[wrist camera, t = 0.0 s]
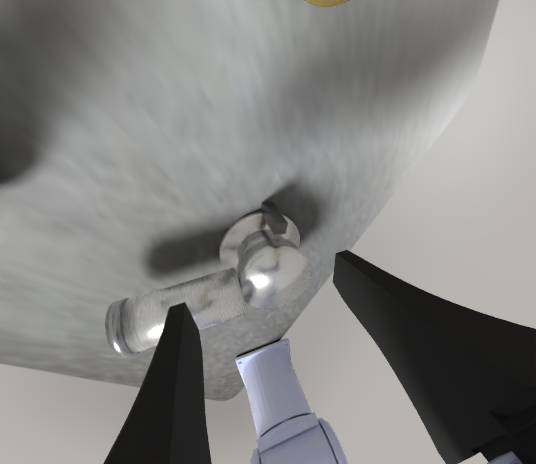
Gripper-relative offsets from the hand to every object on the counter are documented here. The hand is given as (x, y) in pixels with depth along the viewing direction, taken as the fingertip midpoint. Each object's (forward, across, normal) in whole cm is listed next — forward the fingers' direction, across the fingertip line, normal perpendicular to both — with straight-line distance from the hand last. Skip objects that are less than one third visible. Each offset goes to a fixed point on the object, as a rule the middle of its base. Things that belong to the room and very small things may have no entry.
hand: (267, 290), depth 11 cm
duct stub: (+10, -2, +6) cm, 12 cm away
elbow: (+8, +3, +6) cm, 10 cm away
